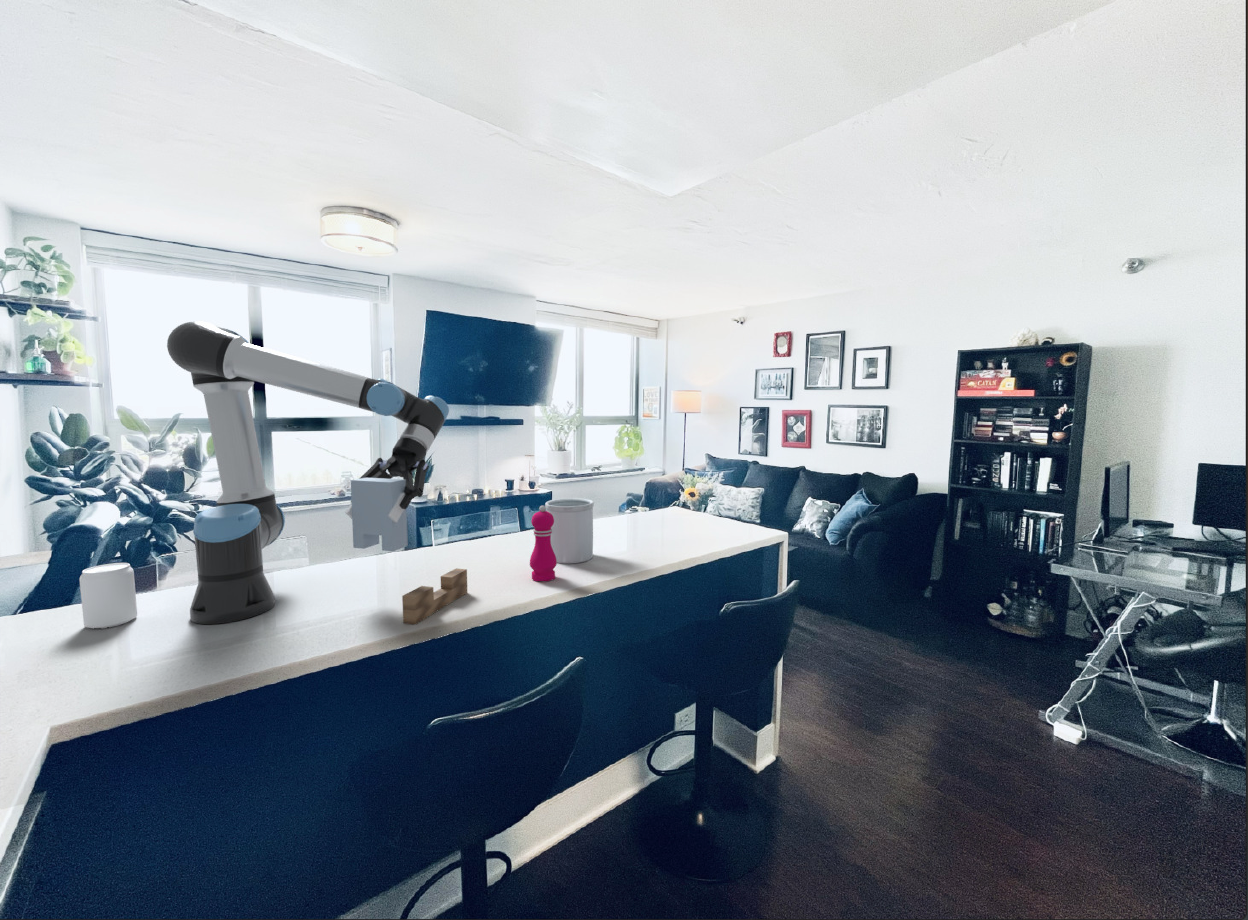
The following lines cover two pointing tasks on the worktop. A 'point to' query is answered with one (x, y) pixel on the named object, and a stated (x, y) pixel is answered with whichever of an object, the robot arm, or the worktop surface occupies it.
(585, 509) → the utensil holder
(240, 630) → the worktop surface
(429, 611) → the walnut slotted rail
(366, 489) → the tall grey pillar
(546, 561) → the pepper mill
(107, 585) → the beverage can
